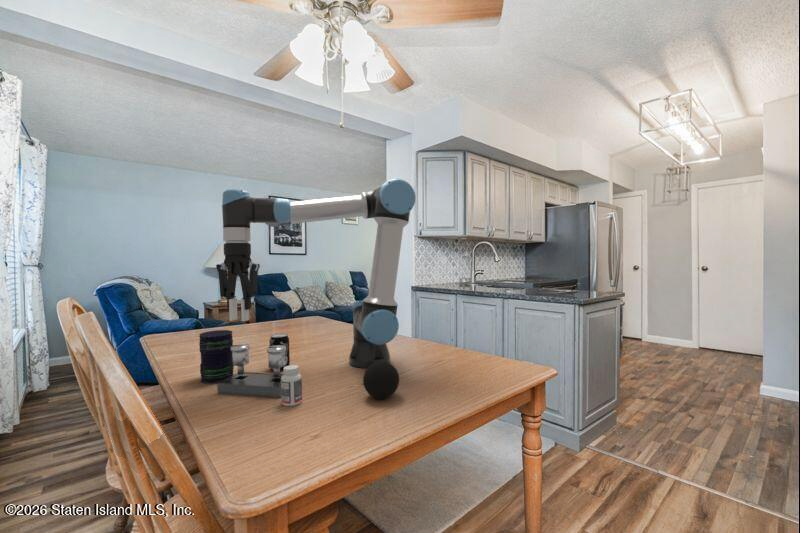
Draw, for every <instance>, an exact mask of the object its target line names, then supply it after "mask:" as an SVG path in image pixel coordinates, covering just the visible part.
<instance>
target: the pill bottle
mask: <svg viewBox="0 0 800 533" xmlns="http://www.w3.org/2000/svg"><path fill="white" fill-rule="evenodd" d="M299 369H300V368H299V365H297V364H291V365H289V366H285V367H284V368H283V371H282V372H283V374H284V375H283V376H282V377H281V395H282V397H281V405H283V406H285V407H294V406H298V405H300V404H301V403H302V401H303V384H302V383H303V382H302V381H303V380H302V374H300V373H299V372H300V370H299Z"/></svg>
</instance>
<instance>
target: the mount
mask: <svg viewBox="0 0 800 533" xmlns="http://www.w3.org/2000/svg"><path fill="white" fill-rule="evenodd" d="M233 374H234V375H232V376H230V377H228V378H226V379H224V380H222V381H220V382H218V383H216V385H217V386H216V388H217V394H222V395H224V394H225V395H237V396H249V397H250V396H252V397H261V398H264V397H265V398H276V399H280V398H282V395H281V377H282V376H283V375H284V373H280V376H279V377H274V372H261V371H260V372H259V371H258V372H257V371H245V370H244V374H242V375H238V372H236V373H233Z"/></svg>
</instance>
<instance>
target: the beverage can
mask: <svg viewBox="0 0 800 533" xmlns="http://www.w3.org/2000/svg"><path fill="white" fill-rule="evenodd" d="M276 345H283V346H286V351H285V366H289V365H290V364H291V363H290V362H291V358H290V338H289V336H288V333H285V332H284V333H283V332H282V333H273V334H271V335H270V338H269V347H270V346H276ZM285 366H283V367H280V372H283V368H284V367H285ZM270 369H271V370H272V371H273V372H274V368H270Z"/></svg>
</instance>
